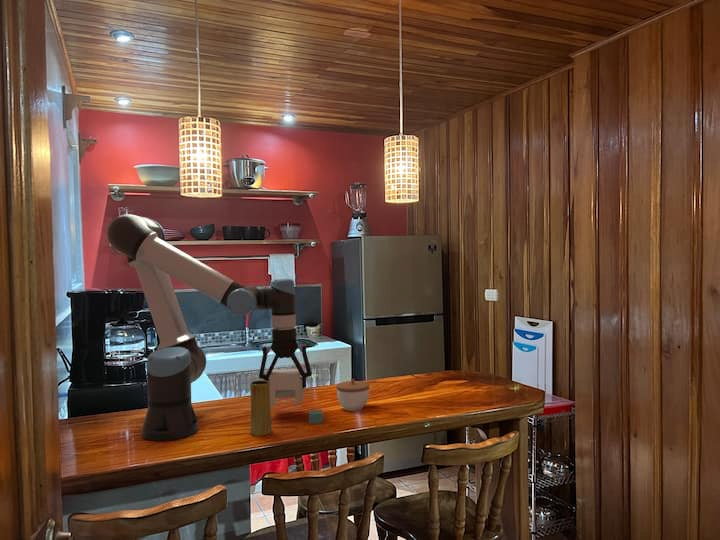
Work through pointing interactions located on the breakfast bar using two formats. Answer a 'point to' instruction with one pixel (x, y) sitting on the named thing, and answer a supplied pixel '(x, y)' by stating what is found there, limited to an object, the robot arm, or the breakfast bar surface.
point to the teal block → (315, 416)
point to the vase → (260, 408)
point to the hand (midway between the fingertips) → (286, 399)
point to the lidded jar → (352, 394)
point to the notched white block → (285, 385)
